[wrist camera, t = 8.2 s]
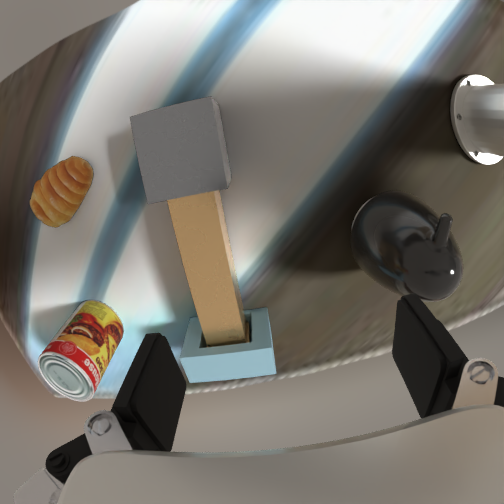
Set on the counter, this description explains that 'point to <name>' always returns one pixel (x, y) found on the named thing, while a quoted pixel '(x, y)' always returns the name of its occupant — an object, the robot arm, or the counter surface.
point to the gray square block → (181, 150)
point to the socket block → (229, 352)
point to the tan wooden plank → (210, 267)
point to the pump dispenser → (407, 246)
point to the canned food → (82, 350)
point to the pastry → (61, 191)
